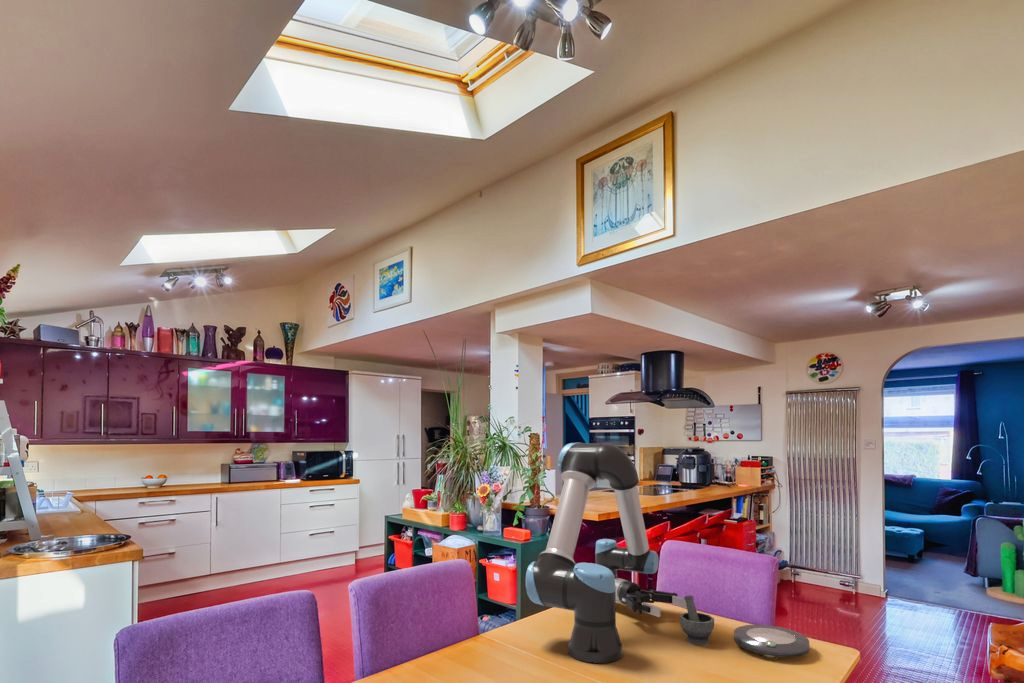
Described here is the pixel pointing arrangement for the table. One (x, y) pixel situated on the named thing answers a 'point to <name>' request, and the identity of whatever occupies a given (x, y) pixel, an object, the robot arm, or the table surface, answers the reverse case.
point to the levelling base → (771, 641)
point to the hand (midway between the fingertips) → (674, 608)
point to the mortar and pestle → (696, 624)
